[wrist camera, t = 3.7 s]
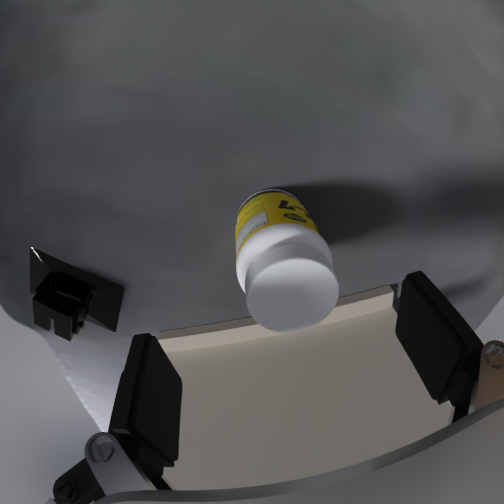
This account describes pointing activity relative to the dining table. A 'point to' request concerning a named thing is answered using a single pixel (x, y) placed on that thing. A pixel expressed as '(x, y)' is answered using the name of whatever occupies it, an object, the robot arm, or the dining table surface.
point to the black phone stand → (71, 296)
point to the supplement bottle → (283, 263)
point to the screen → (295, 396)
